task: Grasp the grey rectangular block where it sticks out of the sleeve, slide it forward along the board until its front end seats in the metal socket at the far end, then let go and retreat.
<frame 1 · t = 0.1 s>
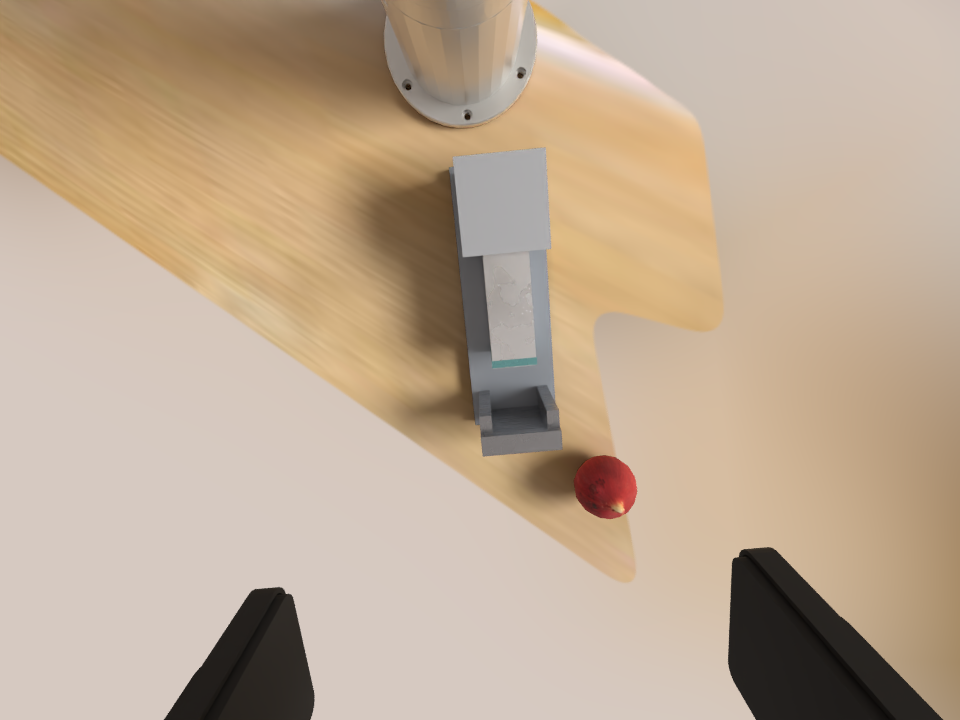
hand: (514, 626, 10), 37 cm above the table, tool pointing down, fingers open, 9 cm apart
socket: (512, 393, 47), resting on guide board
onion: (595, 467, 49), on the table
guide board: (505, 299, 45), on the table
grey rectangular block: (505, 269, 40), point 4 cm above the table, slide at 0.0 cm
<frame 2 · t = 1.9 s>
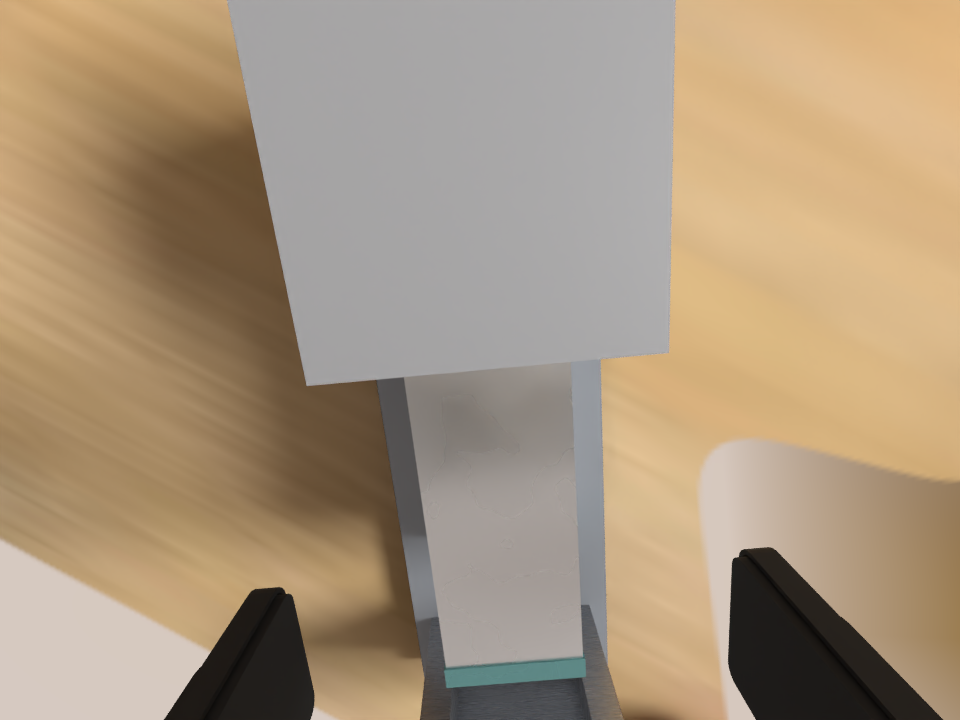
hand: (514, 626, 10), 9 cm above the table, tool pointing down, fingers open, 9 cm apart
socket: (510, 608, 21), resting on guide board
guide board: (491, 411, 18), on the table
grey rectangular block: (487, 371, 13), point 4 cm above the table, slide at 0.0 cm
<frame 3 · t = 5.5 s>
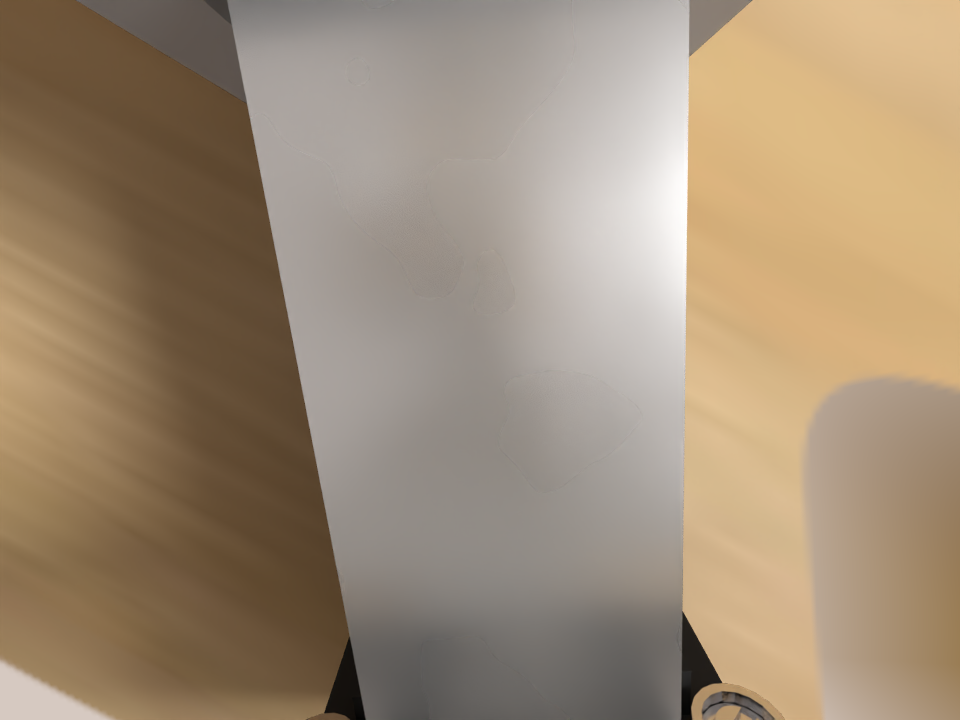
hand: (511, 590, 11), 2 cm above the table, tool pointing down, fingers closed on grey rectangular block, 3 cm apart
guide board: (487, 330, 12), on the table
grey rectangular block: (504, 515, 8), point 4 cm above the table, slide at 5.5 cm, touching gripper
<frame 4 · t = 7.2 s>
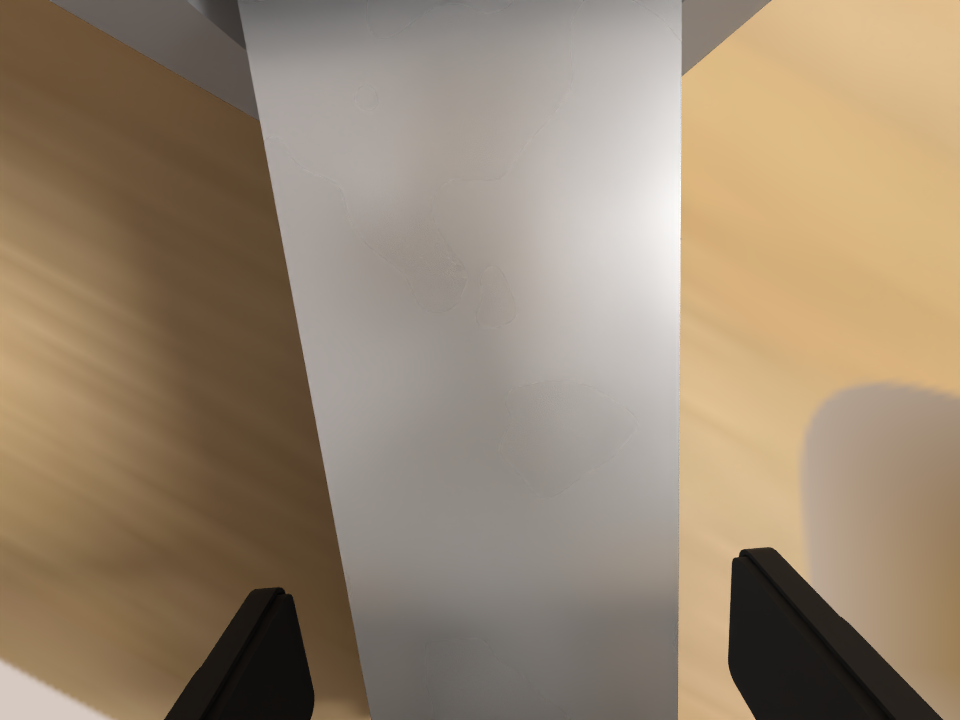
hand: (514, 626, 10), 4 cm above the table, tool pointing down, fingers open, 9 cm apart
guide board: (488, 336, 12), on the table
grey rectangular block: (505, 520, 8), point 5 cm above the table, slide at 5.5 cm
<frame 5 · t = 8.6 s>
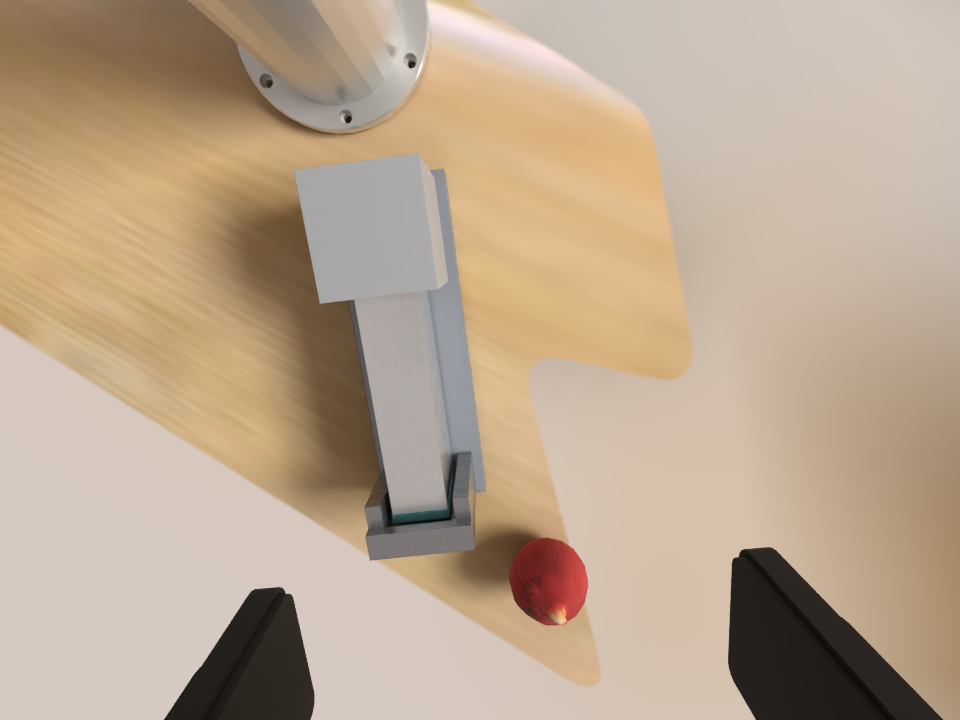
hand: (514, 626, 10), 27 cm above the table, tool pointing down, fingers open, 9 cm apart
socket: (432, 461, 38), resting on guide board
onion: (542, 548, 40), on the table
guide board: (414, 345, 36), on the table
grey rectangular block: (410, 393, 32), point 4 cm above the table, slide at 5.5 cm
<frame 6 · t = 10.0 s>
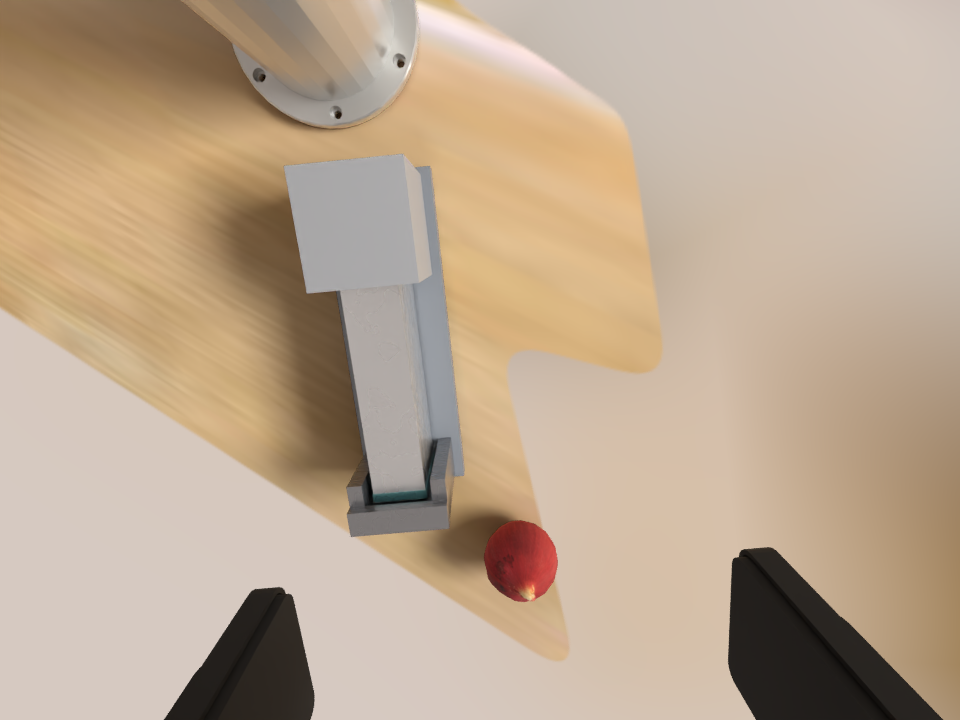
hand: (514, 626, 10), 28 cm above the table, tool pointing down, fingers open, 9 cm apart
socket: (414, 445, 39), resting on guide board
onion: (516, 530, 42), on the table
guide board: (398, 335, 37), on the table
grey rectangular block: (393, 380, 33), point 4 cm above the table, slide at 5.5 cm
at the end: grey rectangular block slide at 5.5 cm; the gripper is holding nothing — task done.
